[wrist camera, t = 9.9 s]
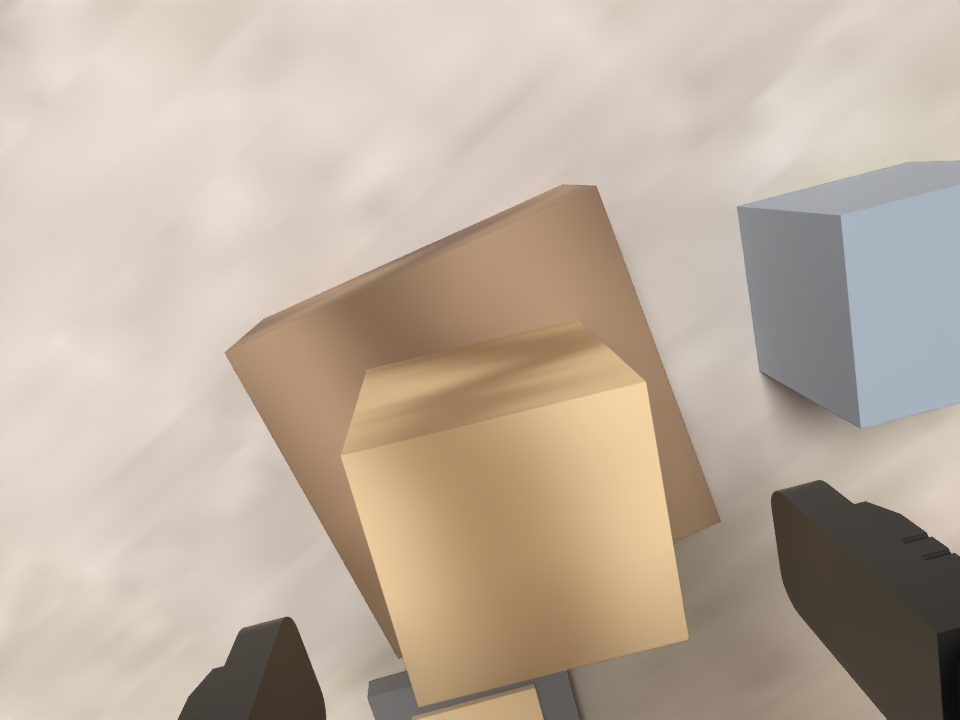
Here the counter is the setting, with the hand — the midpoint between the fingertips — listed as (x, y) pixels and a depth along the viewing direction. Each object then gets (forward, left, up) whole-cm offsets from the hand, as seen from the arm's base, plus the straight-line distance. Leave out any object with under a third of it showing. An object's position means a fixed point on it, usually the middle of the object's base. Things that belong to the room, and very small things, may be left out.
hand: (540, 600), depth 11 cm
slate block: (-12, -1, -11) cm, 16 cm away
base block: (0, 0, -12) cm, 12 cm away
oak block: (0, 0, -7) cm, 7 cm away
